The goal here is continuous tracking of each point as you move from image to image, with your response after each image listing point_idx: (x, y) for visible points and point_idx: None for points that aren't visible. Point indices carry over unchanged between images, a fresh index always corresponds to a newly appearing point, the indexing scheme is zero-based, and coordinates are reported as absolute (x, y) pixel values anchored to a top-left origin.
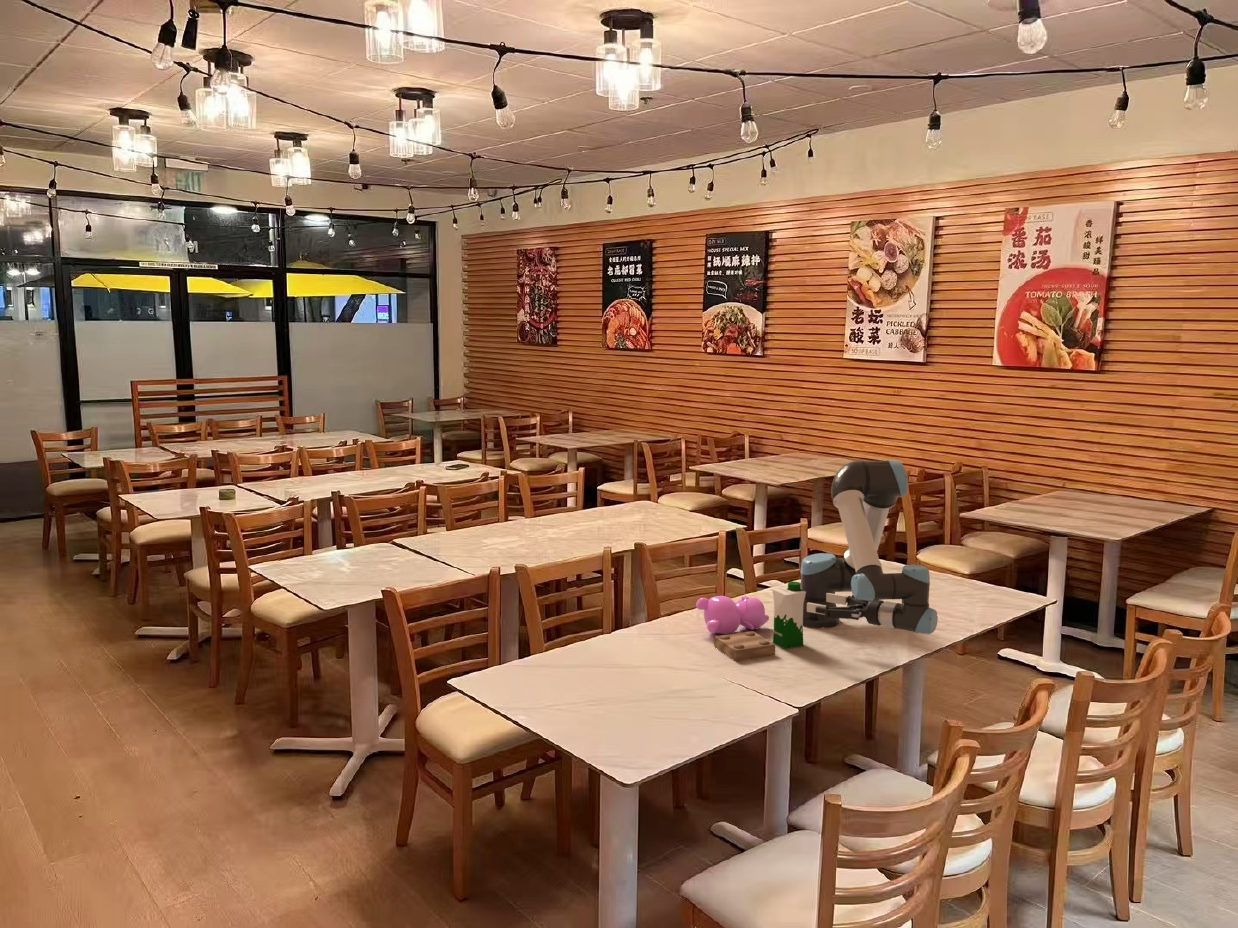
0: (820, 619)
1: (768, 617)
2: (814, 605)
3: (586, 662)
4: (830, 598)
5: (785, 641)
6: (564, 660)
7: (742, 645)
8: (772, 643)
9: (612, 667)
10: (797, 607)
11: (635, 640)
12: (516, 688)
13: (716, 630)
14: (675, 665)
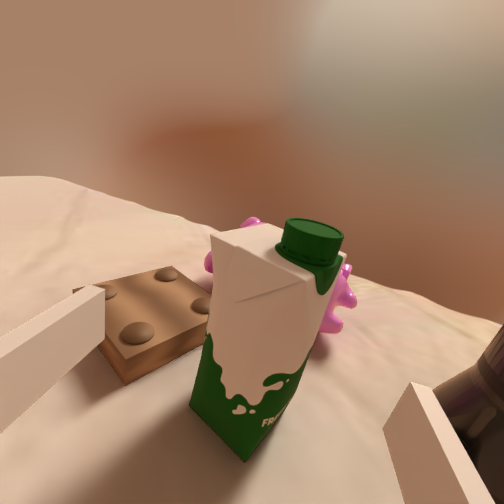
0: (481, 471)
1: (336, 326)
2: (33, 326)
3: (90, 209)
4: (408, 443)
5: (194, 387)
6: (99, 202)
7: (105, 296)
8: (136, 351)
9: (67, 218)
10: (237, 316)
11: (179, 231)
12: (10, 184)
13: (206, 267)
14: (64, 252)
